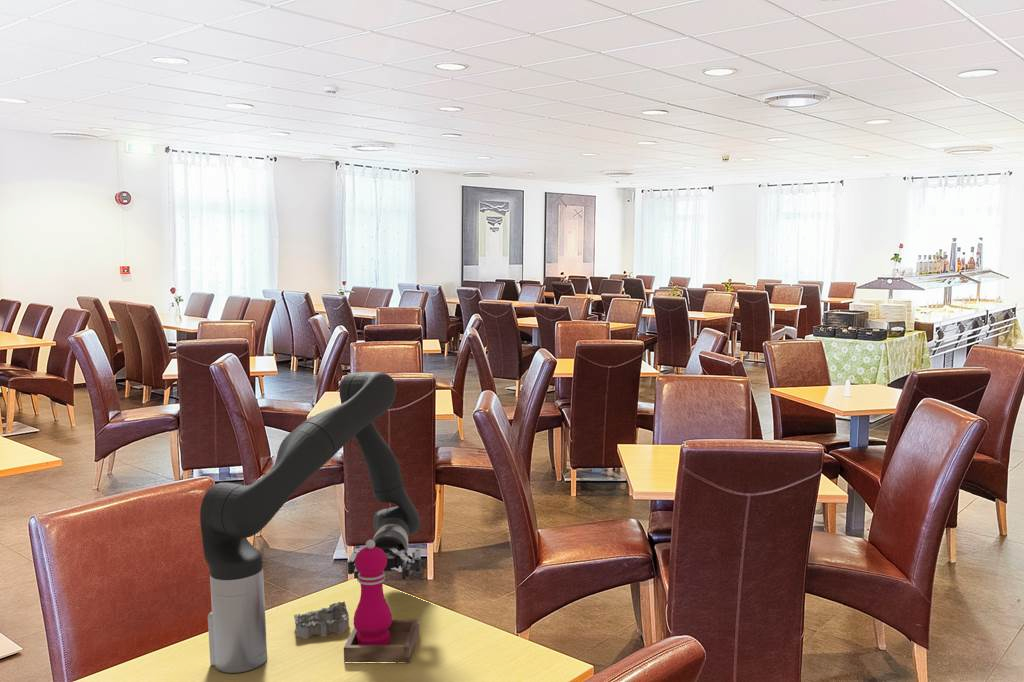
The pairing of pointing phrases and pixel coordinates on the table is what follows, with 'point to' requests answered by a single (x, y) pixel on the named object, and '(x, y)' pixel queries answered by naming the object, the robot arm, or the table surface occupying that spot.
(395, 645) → the tray
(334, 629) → the egg carton
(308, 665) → the table surface
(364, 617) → the pepper mill
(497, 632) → the table surface
